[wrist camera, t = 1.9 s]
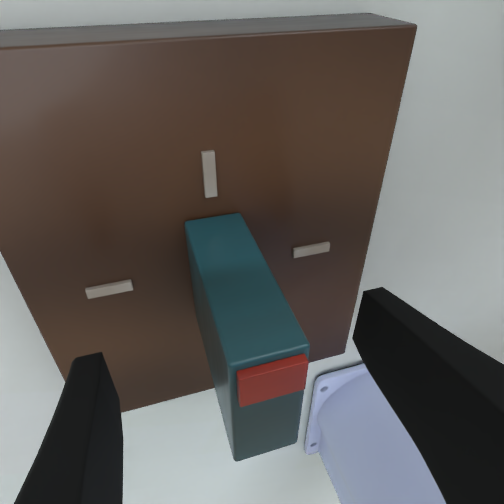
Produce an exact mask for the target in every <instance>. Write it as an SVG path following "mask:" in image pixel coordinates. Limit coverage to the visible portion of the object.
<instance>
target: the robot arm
mask: <svg viewBox="0 0 504 504" xmlns="http://www.w3.org/2000/svg"><path fill="white" fill-rule="evenodd" d="M352 339H353V341H354V343H355V345H356V347H357V349H358V352H359V354H360V356H361V358H362V360H363V362H364V363H363V364H360V365H356V366H353V367H349V368H345V369H342V370H338V371H335V372H331V373H327V374H324V375H321V376H319V377H318V378H317V379H316V381H315V385H314V391H313V397H312V403H311V409H310V416H309V422H308V428H307V434H306V440H305V446H304V450H305V453H306V454H308V455H310V454H314V453H317V452H319V454H320V456H321V458H322V461H323V463H324V465H325V468H326V470H327V472H328V474H329V477H330V479H331V481H332V484H333V486H334V488H335V491H336V493H337V495H338V498H339V500H340V502H341V504H504V364H502V363H500V362H498V361H497V360H495V359H493V358H492V357H490V356H488V355H487V354H485V353H483V352H481V351H480V350H478V349H476V348H475V347H473V346H471V345H470V344H468V343H466V342H465V341H463V340H462V339H460V338H458V337H457V336H455V335H454V334H452V333H451V332H449V331H448V330H446V329H444V328H443V327H441V326H440V325H438V324H437V323H435V322H434V321H432V320H431V319H429V318H428V317H426V316H425V315H423V314H422V313H420V312H419V311H417V310H416V309H415V308H413V307H412V306H410V305H409V304H407V303H406V302H404V301H403V300H401V299H400V298H398V297H397V296H395V295H394V294H392V293H391V292H389V291H388V290H386V289H385V288H383V287H380V288H376V289H371V290H367V291H363V295H362V300H361V304H360V308H359V312H358V316H357V321H356V325H355V329H354V333H353V338H352ZM122 497H123V431H122V420H121V410H120V400H119V396H118V394H117V391H116V388H115V386H114V383H113V380H112V378H111V375H110V372H109V369H108V367H107V364H106V361H105V359H104V356H103V353H102V352H98V353H94V354H89V355H85V356H81V357H76V358H75V359H74V360H73V361H72V363H71V367H70V370H69V373H68V376H67V379H66V383H65V385H64V388H63V391H62V394H61V397H60V400H59V402H58V405H57V407H56V410H55V413H54V415H53V418H52V420H51V423H50V425H49V427H48V430H47V432H46V435H45V437H44V439H43V442H42V444H41V447H40V449H39V451H38V454H37V456H36V458H35V460H34V462H33V465H32V467H31V469H30V471H29V473H28V475H27V477H26V479H25V481H24V484H23V486H22V488H21V490H20V492H19V494H18V496H17V498H16V500H15V502H14V504H122Z"/></svg>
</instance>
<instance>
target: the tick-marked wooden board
mask: <svg viewBox="0 0 504 504" xmlns="http://www.w3.org/2000/svg"><path fill="white" fill-rule="evenodd" d="M416 30H417V25H416V24H413V23H409V22H405V21H401V20H396V19H392V18H388V17H384V16H380V15H376V14H372V13H360V14H338V15H317V16H295V17H274V18H252V19H230V20H209V21H187V22H166V23H144V24H123V25H101V26H80V27H58V28H36V29H15V30H0V252H1V254H2V256H3V258H4V260H5V262H6V264H7V266H8V268H9V270H10V272H11V274H12V276H13V278H14V280H15V282H16V284H17V286H18V288H19V290H20V292H21V294H22V296H23V298H24V300H25V302H26V304H27V306H28V308H29V310H30V312H31V314H32V316H33V318H34V320H35V322H36V324H37V326H38V328H39V330H40V332H41V334H42V336H43V338H44V340H45V342H46V344H47V346H48V348H49V350H50V352H51V354H52V356H53V358H54V360H55V362H56V364H57V366H58V368H59V370H60V372H61V374H62V376H63V378H64V380H65V382H66V379H67V376H68V373H69V370H70V367H71V363H72V361H73V360H74V359H75V358H76V357H81V356H85V355H89V354H94V353H98V352H102V353H103V356H104V359H105V361H106V364H107V367H108V369H109V372H110V375H111V378H112V380H113V383H114V386H115V388H116V391H117V394H118V396H119V400H120V410H121V413H122V412H126V411H130V410H133V409H137V408H141V407H145V406H148V405H152V404H156V403H160V402H163V401H167V400H171V399H175V398H178V397H182V396H186V395H190V394H193V393H197V392H201V391H205V390H208V389H212V388H215V387H214V383H213V379H212V375H211V371H210V367H209V364H208V360H207V356H206V352H205V348H204V345H203V341H202V337H201V333H200V329H199V325H198V322H197V318H196V312H195V304H194V296H193V289H192V281H191V273H190V265H189V258H188V250H187V242H186V235H185V227H184V224H185V222H186V221H190V220H196V219H202V218H208V217H214V216H221V215H227V214H233V213H241V215H242V217H243V219H244V221H245V223H246V225H247V227H248V229H249V230H250V232H251V234H252V236H253V238H254V240H255V242H256V244H257V246H258V247H259V249H260V251H261V253H262V255H263V257H264V259H265V261H266V262H267V264H268V266H269V268H270V270H271V272H272V274H273V276H274V278H275V279H276V281H277V283H278V285H279V287H280V289H281V291H282V293H283V295H284V296H285V298H286V300H287V302H288V304H289V306H290V308H291V310H292V312H293V313H294V315H295V317H296V319H297V321H298V323H299V325H300V327H301V328H302V330H303V332H304V334H305V336H306V338H307V340H308V342H309V344H310V350H309V357H308V361H309V363H310V362H313V361H317V360H321V359H325V358H328V357H332V356H336V355H340V354H343V353H344V352H345V348H346V344H347V339H348V335H349V330H350V326H351V321H352V317H353V312H354V308H355V303H356V299H357V294H358V290H359V285H360V281H361V276H362V272H363V267H364V263H365V259H366V254H367V250H368V245H369V241H370V236H371V232H372V227H373V223H374V218H375V214H376V209H377V205H378V200H379V196H380V191H381V187H382V182H383V178H384V173H385V169H386V165H387V160H388V156H389V151H390V147H391V142H392V138H393V133H394V129H395V124H396V120H397V115H398V111H399V106H400V102H401V97H402V93H403V88H404V84H405V79H406V75H407V71H408V66H409V62H410V57H411V53H412V48H413V44H414V39H415V35H416Z"/></svg>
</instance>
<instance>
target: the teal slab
mask: <svg viewBox="0 0 504 504" xmlns="http://www.w3.org/2000/svg"><path fill="white" fill-rule="evenodd" d="M184 227H185V235H186V242H187V250H188V258H189V265H190V273H191V281H192V289H193V296H194V304H195V312H196V318H197V322H198V325H199V329H200V333H201V337H202V341H203V345H204V348H205V352H206V356H207V360H208V364H209V367H210V371H211V375H212V379H213V383H214V387H215V390H216V394H217V398H218V402H219V406H220V409H221V413H222V417H223V421H224V425H225V429H226V432H227V436H228V440H229V444H230V448H231V451H232V455H233V459H234V460H235V461H241V460H244V459H247V458H250V457H253V456H256V455H260V454H263V453H266V452H269V451H272V450H275V449H279V448H282V447H285V446H288V445H291V444H294V443H296V442H297V438H298V430H299V423H300V416H301V408H302V401H303V394H304V389H305V384H306V377H307V370H308V363H309V361H308V357H309V350H310V344H309V342H308V340H307V338H306V336H305V334H304V332H303V330H302V328H301V327H300V325H299V323H298V321H297V319H296V317H295V315H294V313H293V312H292V310H291V308H290V306H289V304H288V302H287V300H286V298H285V296H284V295H283V293H282V291H281V289H280V287H279V285H278V283H277V281H276V279H275V278H274V276H273V274H272V272H271V270H270V268H269V266H268V264H267V262H266V261H265V259H264V257H263V255H262V253H261V251H260V249H259V247H258V246H257V244H256V242H255V240H254V238H253V236H252V234H251V232H250V230H249V229H248V227H247V225H246V223H245V221H244V219H243V217H242V215H241V213H233V214H227V215H221V216H214V217H208V218H202V219H196V220H190V221H186V222H185V224H184Z"/></svg>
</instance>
